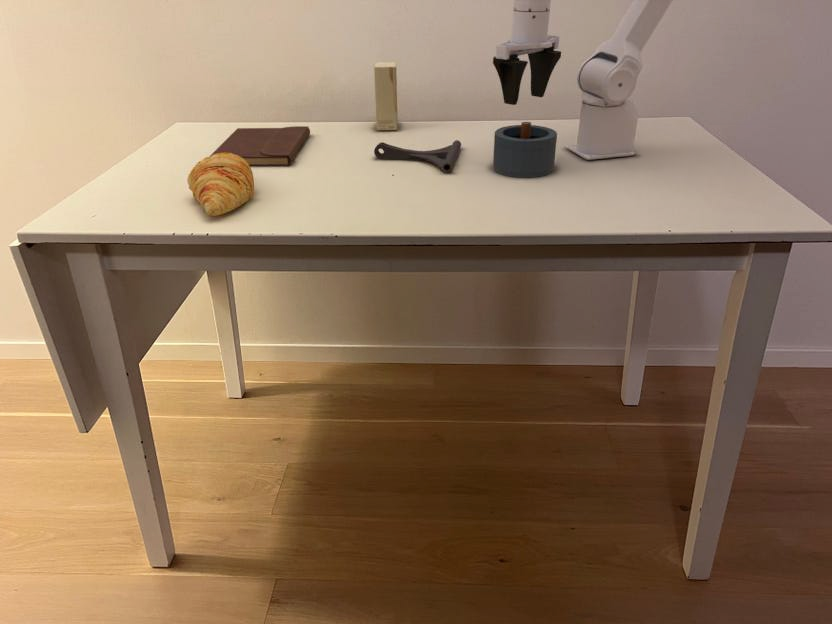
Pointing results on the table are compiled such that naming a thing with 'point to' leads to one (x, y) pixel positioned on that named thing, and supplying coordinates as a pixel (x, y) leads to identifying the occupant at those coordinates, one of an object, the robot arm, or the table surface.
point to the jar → (524, 151)
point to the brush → (525, 130)
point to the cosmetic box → (386, 95)
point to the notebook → (266, 145)
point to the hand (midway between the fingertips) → (524, 100)
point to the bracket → (421, 154)
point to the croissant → (221, 182)
